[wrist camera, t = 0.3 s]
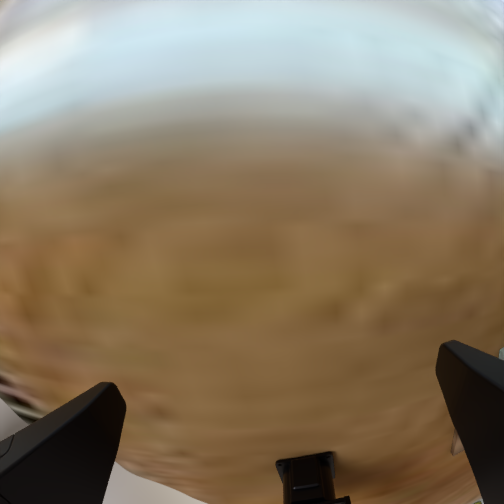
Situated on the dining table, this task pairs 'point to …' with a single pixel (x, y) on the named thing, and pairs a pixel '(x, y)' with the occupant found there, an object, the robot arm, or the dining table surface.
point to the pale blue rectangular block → (501, 354)
